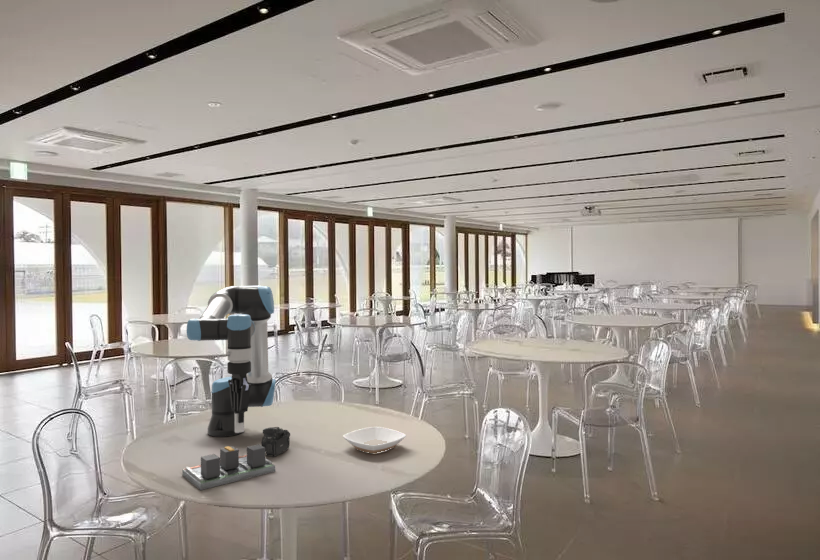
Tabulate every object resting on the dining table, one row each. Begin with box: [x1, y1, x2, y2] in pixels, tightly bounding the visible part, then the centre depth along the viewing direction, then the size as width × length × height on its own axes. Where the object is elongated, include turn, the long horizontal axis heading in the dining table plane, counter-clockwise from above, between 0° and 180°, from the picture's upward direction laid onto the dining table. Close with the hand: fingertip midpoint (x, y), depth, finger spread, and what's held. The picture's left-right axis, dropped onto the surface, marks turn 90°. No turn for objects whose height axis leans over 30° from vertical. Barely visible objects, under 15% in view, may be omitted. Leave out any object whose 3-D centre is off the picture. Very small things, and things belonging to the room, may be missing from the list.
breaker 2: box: [219, 445, 240, 470], centre depth 191 cm, size 5×4×6 cm
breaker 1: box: [200, 453, 220, 479], centre depth 183 cm, size 5×4×6 cm
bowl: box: [342, 426, 407, 453], centre depth 219 cm, size 22×22×5 cm
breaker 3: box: [246, 443, 266, 468], centre depth 194 cm, size 5×4×6 cm
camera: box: [260, 426, 291, 457], centre depth 214 cm, size 13×10×10 cm
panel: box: [182, 454, 276, 491], centre depth 192 cm, size 17×26×3 cm, turn 130°
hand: (239, 431), depth 185 cm, fingers closed
